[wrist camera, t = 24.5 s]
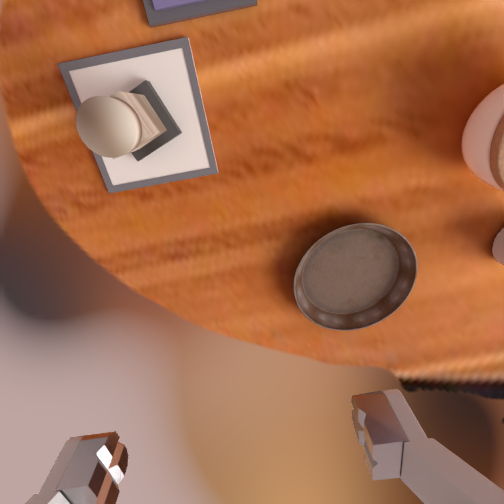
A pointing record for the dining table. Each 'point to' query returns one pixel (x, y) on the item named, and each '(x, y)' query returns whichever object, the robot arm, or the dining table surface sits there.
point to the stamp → (126, 123)
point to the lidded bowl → (486, 139)
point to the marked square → (172, 95)
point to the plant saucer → (355, 276)
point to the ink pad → (189, 9)
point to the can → (499, 247)
